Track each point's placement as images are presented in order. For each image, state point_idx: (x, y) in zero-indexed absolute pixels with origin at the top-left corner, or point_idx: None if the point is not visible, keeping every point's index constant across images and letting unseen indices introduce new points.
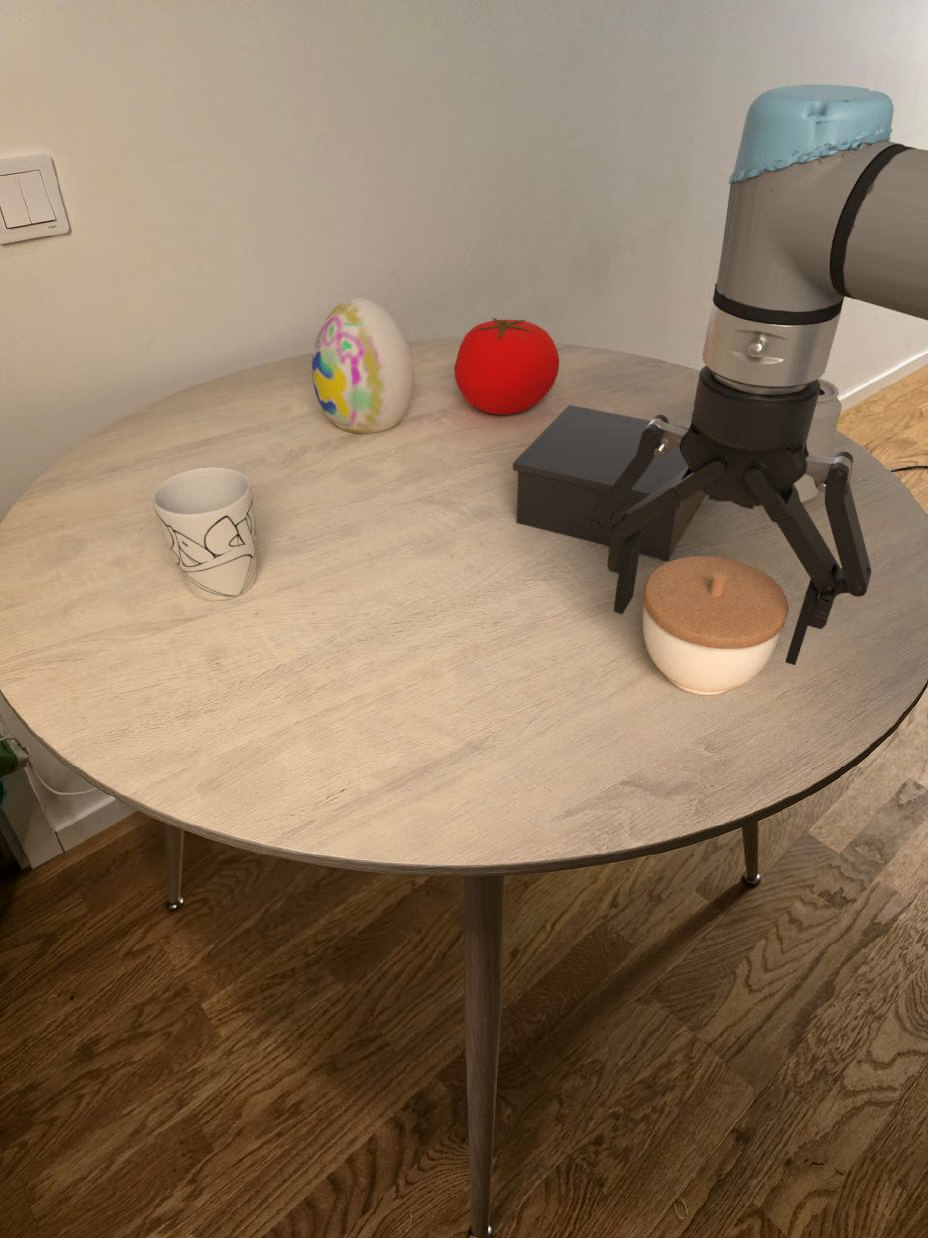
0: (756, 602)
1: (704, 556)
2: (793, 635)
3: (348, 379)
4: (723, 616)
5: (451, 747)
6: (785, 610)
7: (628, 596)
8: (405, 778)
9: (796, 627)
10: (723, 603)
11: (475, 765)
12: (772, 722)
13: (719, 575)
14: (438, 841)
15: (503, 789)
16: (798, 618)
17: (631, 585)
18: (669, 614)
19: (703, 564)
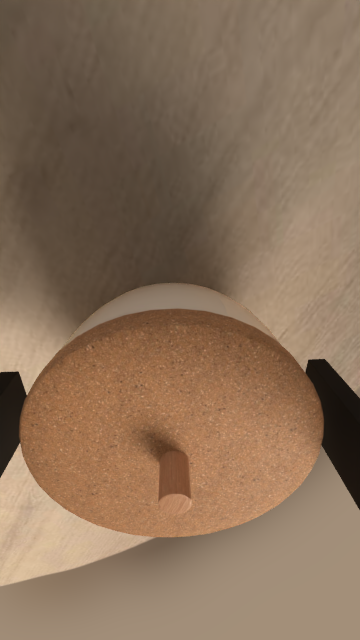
0: (260, 456)
1: (93, 349)
2: (326, 451)
3: None
4: (207, 504)
5: (12, 514)
6: (318, 444)
7: (16, 414)
8: (8, 541)
9: (337, 468)
10: (197, 480)
11: (42, 518)
12: None
13: (173, 500)
14: (68, 559)
15: (77, 524)
16: (349, 490)
17: (3, 421)
18: (118, 527)
19: (108, 386)
